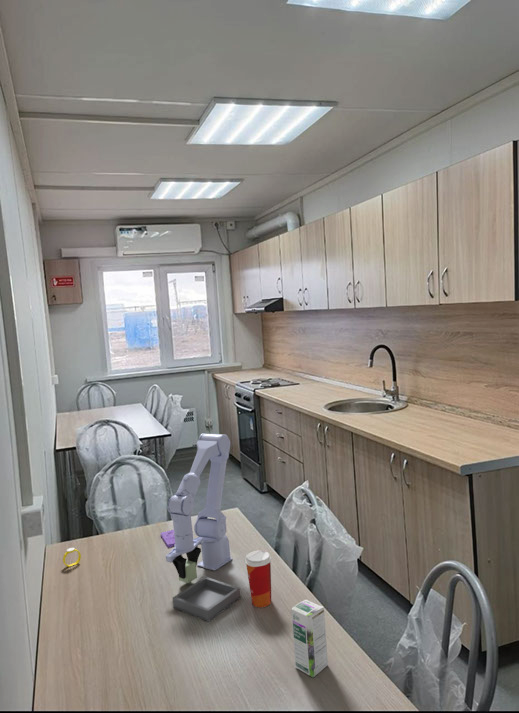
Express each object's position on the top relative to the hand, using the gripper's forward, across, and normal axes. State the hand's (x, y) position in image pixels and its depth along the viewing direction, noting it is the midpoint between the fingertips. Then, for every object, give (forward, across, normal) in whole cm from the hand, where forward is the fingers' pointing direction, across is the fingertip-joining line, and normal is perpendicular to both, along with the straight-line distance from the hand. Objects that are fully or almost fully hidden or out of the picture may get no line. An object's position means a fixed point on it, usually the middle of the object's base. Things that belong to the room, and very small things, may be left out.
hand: (187, 574), depth 165 cm
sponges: (+4, -21, -30) cm, 37 cm away
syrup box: (+3, +13, +54) cm, 56 cm away
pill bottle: (+3, -3, +27) cm, 27 cm away
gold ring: (+3, +11, -47) cm, 48 cm away
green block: (+2, 0, 0) cm, 2 cm away
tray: (+3, +5, +13) cm, 14 cm away
